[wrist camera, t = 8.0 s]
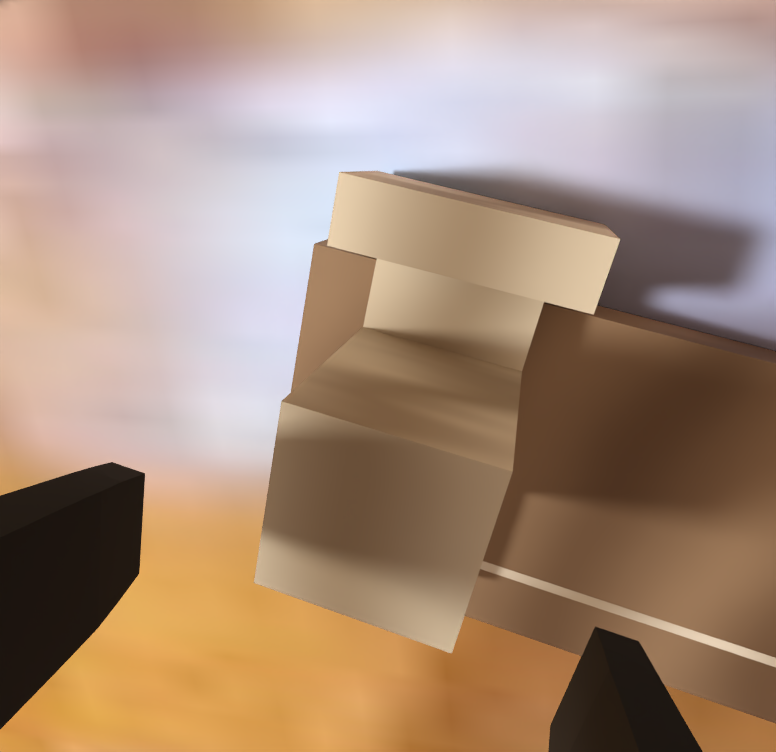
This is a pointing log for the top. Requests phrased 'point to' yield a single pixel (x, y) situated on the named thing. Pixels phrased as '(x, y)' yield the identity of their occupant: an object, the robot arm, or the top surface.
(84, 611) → the robot arm
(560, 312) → the walnut board
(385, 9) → the top surface
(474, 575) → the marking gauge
